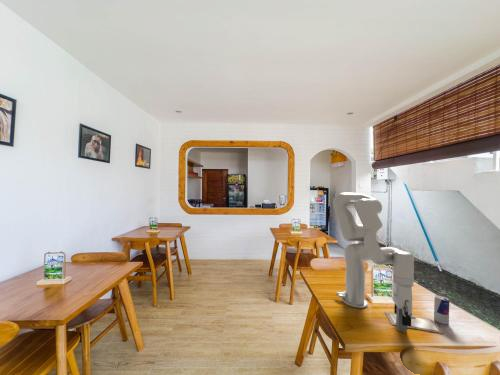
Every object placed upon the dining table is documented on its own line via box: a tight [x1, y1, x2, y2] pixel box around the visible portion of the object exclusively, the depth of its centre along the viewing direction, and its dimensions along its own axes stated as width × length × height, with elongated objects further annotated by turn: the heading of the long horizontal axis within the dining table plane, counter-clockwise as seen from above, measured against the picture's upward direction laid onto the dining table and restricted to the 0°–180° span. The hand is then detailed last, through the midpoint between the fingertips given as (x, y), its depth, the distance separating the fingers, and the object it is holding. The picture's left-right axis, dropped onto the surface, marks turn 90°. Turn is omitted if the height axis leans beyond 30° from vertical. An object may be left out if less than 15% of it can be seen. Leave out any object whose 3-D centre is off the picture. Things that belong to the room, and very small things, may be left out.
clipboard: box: [384, 311, 445, 335], centre depth 108 cm, size 20×11×1 cm, turn 74°
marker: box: [395, 307, 408, 334], centre depth 102 cm, size 4×3×12 cm
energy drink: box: [433, 294, 450, 328], centre depth 108 cm, size 5×5×12 cm
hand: (402, 319), depth 102 cm, fingers open, 9 cm apart
